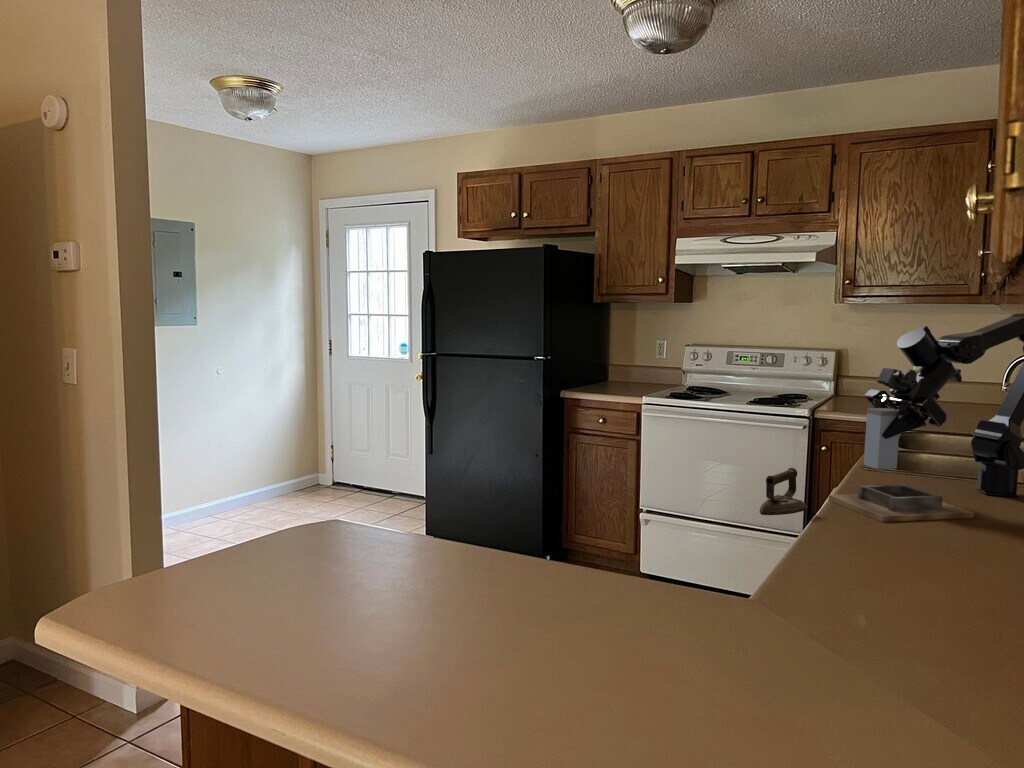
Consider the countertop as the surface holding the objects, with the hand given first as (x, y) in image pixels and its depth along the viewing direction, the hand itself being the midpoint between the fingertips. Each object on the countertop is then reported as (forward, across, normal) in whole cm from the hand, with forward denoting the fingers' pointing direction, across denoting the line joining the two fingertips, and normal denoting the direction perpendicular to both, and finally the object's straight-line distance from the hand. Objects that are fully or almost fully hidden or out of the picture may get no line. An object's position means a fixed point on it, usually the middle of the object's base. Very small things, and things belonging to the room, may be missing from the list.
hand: (876, 435), depth 152 cm
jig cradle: (+9, +7, +10) cm, 15 cm away
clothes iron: (+27, +6, -8) cm, 29 cm away
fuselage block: (+4, 0, +6) cm, 7 cm away
